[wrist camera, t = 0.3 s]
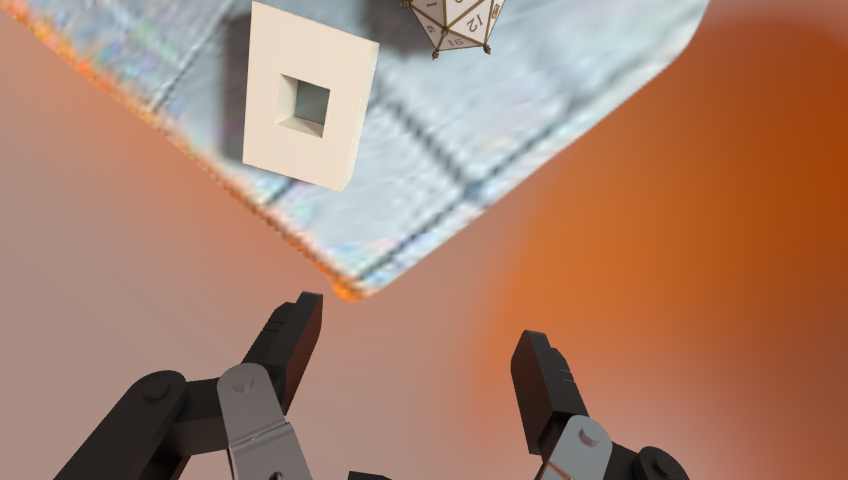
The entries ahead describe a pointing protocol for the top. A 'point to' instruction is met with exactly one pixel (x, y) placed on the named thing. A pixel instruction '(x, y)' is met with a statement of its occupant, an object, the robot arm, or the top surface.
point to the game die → (456, 22)
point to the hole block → (277, 89)
